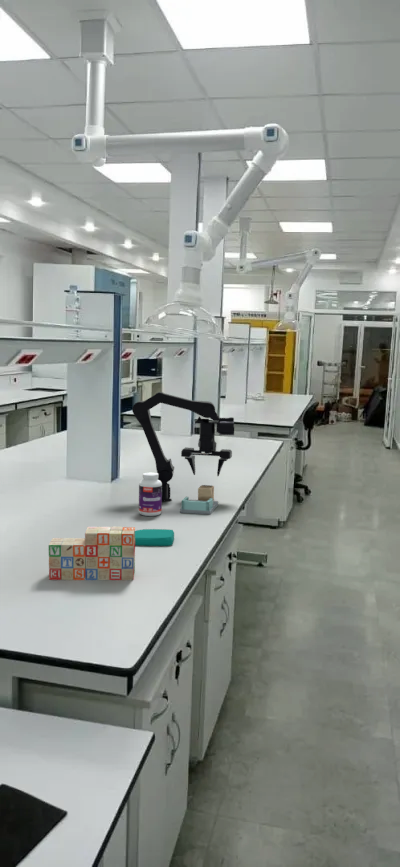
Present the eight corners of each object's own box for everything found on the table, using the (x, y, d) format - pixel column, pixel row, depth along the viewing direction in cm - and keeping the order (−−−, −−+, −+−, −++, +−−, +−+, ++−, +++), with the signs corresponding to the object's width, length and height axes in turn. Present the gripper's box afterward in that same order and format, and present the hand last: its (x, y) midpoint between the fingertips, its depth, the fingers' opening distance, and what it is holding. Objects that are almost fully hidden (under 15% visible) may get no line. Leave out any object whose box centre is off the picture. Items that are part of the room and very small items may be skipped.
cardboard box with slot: (210, 503, 246) (211, 488, 245) (197, 502, 247) (198, 487, 246) (213, 499, 252) (214, 485, 251) (201, 499, 253) (201, 484, 252)
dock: (210, 514, 229) (210, 502, 229) (179, 512, 231) (180, 500, 231) (217, 504, 244) (218, 493, 243) (189, 502, 246) (189, 491, 245)
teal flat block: (172, 548, 191) (89, 547, 193) (175, 537, 202) (97, 536, 203) (171, 538, 191) (89, 537, 192) (175, 528, 202) (96, 527, 203)
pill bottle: (141, 517, 224) (141, 476, 222) (137, 511, 232) (136, 472, 230) (164, 516, 226) (164, 475, 224) (159, 510, 234) (159, 471, 232)
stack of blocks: (48, 580, 163) (47, 533, 161) (53, 572, 169) (52, 526, 168) (134, 580, 164) (133, 533, 162) (135, 572, 170) (135, 526, 168)
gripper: (234, 433, 252) (233, 472, 254) (187, 431, 256) (186, 470, 258) (230, 437, 241) (229, 478, 244) (181, 434, 245) (180, 475, 247)
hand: (206, 475), depth 248 cm, fingers open, 9 cm apart
